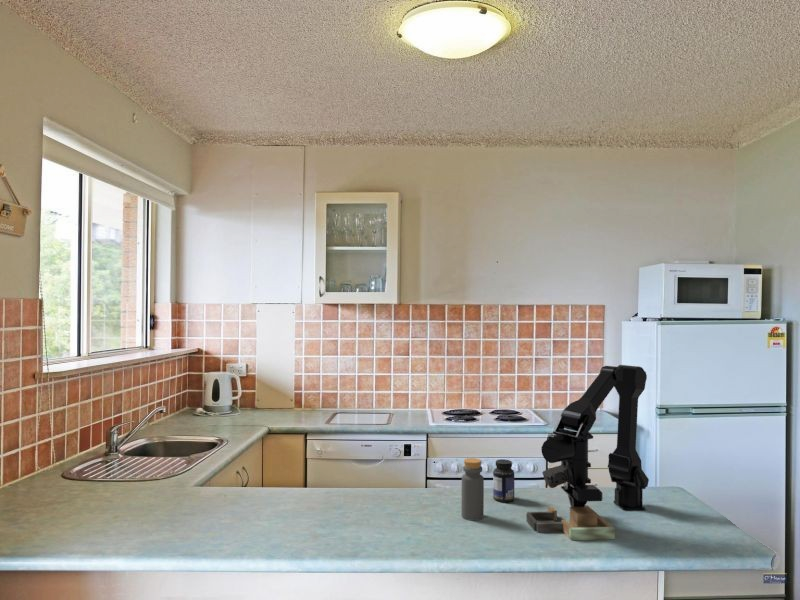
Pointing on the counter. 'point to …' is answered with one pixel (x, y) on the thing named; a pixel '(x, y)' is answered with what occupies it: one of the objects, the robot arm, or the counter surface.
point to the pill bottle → (503, 481)
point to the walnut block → (583, 517)
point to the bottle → (472, 490)
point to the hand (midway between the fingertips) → (576, 517)
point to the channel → (569, 526)
